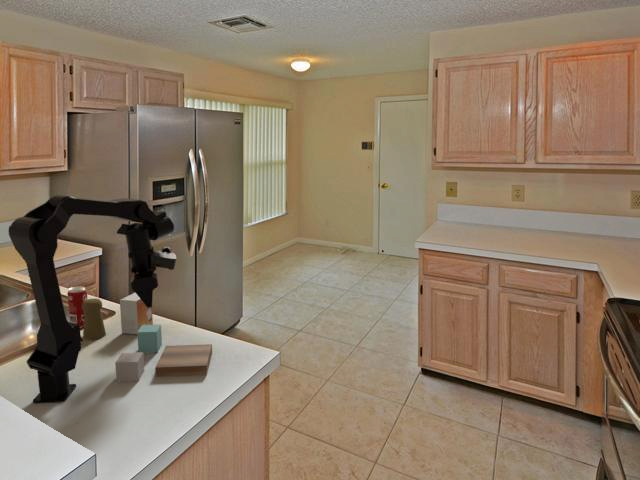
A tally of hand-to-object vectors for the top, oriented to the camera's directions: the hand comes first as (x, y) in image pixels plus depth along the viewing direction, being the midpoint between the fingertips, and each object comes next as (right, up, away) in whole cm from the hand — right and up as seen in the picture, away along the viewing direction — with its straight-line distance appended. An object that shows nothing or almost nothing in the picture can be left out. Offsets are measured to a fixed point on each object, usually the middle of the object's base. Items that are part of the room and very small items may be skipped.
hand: (149, 299), depth 119 cm
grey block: (+1, -17, -13) cm, 21 cm away
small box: (-9, -11, +14) cm, 20 cm away
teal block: (0, -14, +1) cm, 14 cm away
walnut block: (+12, -16, -7) cm, 21 cm away
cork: (-19, -12, +9) cm, 24 cm away
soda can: (-27, -10, +15) cm, 33 cm away
